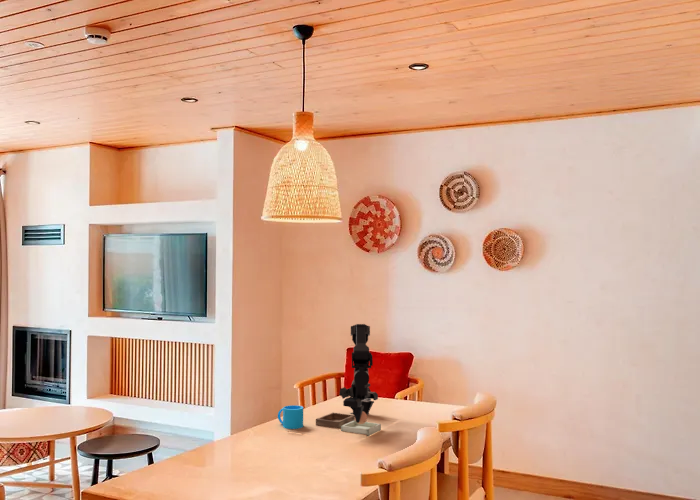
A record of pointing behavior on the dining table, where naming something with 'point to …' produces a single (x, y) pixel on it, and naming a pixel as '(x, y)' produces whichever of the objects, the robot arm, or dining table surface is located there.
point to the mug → (291, 417)
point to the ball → (363, 418)
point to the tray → (361, 428)
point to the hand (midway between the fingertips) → (360, 421)
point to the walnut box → (334, 420)
